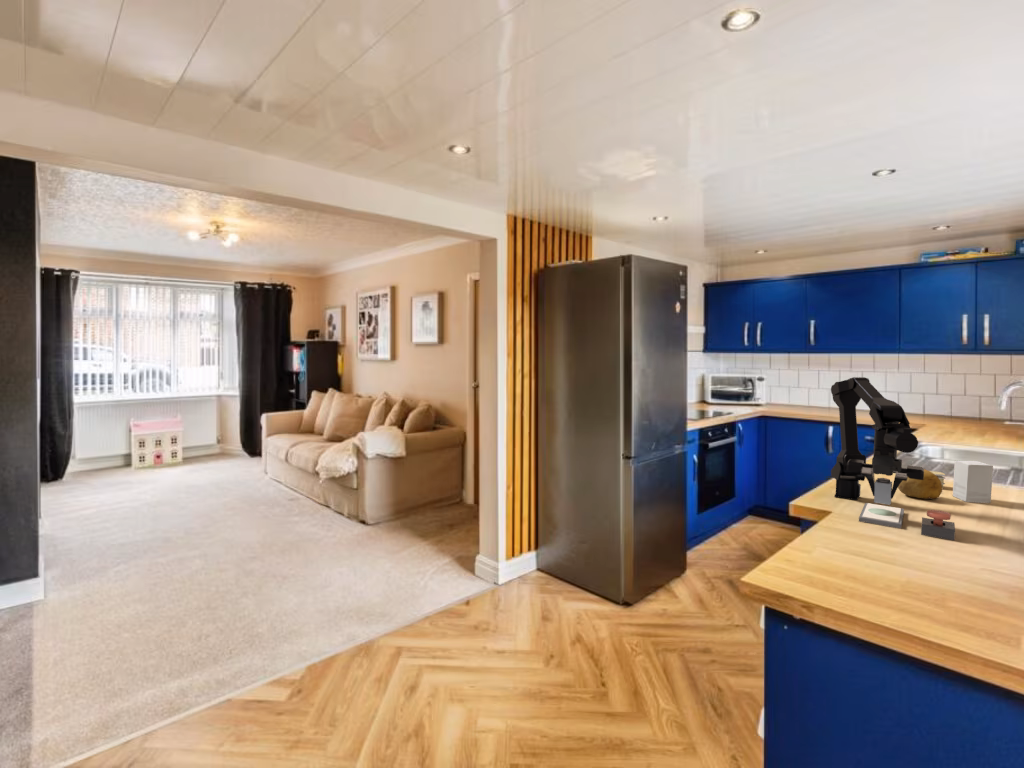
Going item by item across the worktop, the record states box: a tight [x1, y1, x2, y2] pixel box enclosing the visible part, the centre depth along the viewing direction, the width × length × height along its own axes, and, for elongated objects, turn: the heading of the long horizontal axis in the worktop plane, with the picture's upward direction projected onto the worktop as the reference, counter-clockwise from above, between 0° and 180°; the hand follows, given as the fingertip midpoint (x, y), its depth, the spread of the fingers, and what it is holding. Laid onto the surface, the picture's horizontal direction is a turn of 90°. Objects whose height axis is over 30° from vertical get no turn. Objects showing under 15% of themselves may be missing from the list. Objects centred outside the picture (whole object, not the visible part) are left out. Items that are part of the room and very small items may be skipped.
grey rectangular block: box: [873, 477, 893, 506], centre depth 157 cm, size 4×4×7 cm
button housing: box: [920, 517, 956, 541], centre depth 144 cm, size 7×7×3 cm
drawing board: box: [858, 502, 905, 529], centre depth 158 cm, size 10×18×2 cm, turn 141°
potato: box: [897, 468, 943, 500], centre depth 178 cm, size 10×12×10 cm
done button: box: [926, 509, 952, 526], centre depth 143 cm, size 5×5×4 cm
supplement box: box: [952, 460, 994, 504], centre depth 175 cm, size 7×7×13 cm
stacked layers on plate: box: [929, 470, 946, 489], centre depth 192 cm, size 10×9×6 cm
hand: (882, 497), depth 158 cm, fingers closed on grey rectangular block, 4 cm apart
